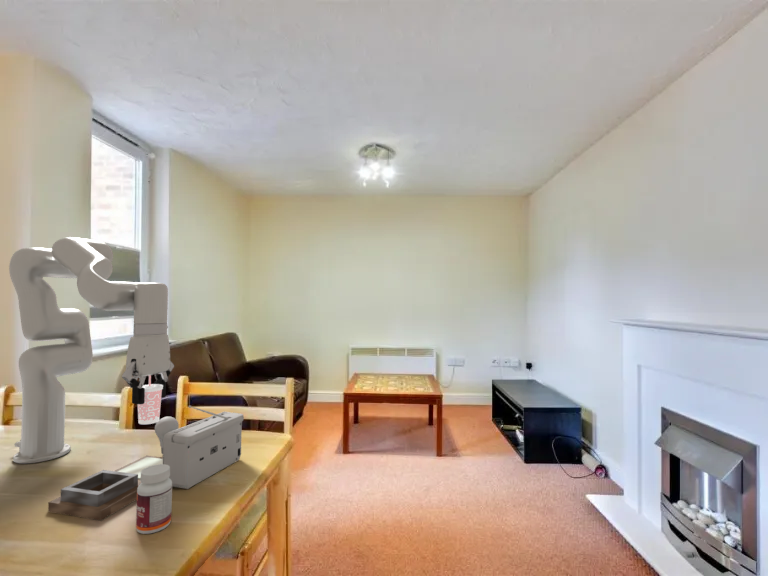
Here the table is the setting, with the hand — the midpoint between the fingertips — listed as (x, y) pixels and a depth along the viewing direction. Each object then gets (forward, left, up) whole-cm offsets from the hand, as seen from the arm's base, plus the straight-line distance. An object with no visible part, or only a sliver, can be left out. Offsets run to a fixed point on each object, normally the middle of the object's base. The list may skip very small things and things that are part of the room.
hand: (149, 399), depth 102 cm
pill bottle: (+19, -18, -20) cm, 33 cm away
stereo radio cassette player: (+13, +6, -20) cm, 24 cm away
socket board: (0, -6, -20) cm, 20 cm away
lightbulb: (-6, +13, -20) cm, 24 cm away
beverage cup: (0, 0, -6) cm, 6 cm away
